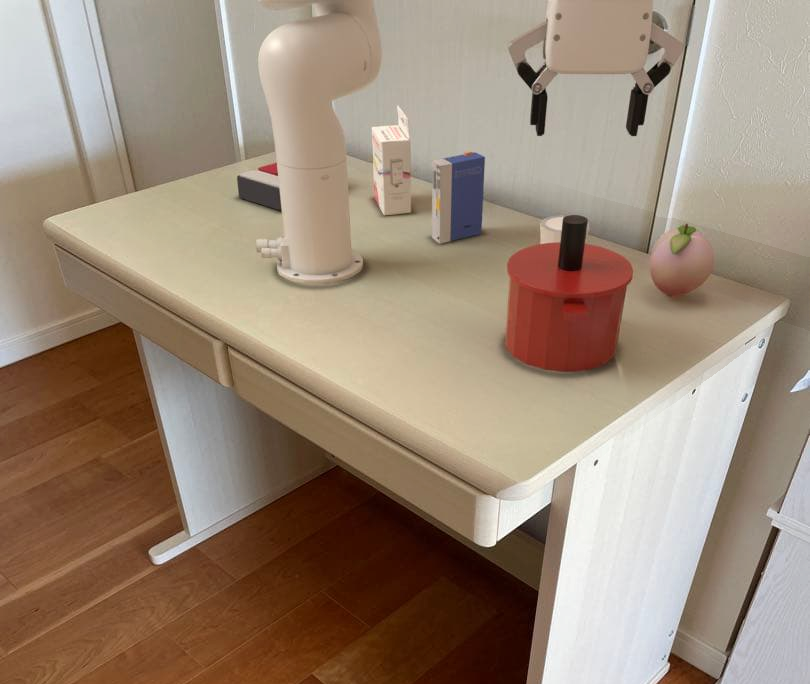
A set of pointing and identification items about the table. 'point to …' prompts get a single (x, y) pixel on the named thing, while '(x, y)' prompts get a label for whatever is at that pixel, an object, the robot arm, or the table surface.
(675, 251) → the decorative fruit
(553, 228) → the white short cylinder
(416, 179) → the table surface
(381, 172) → the ink cartridge box
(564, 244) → the tin lid
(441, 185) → the walkman
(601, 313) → the tin
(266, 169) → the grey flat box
